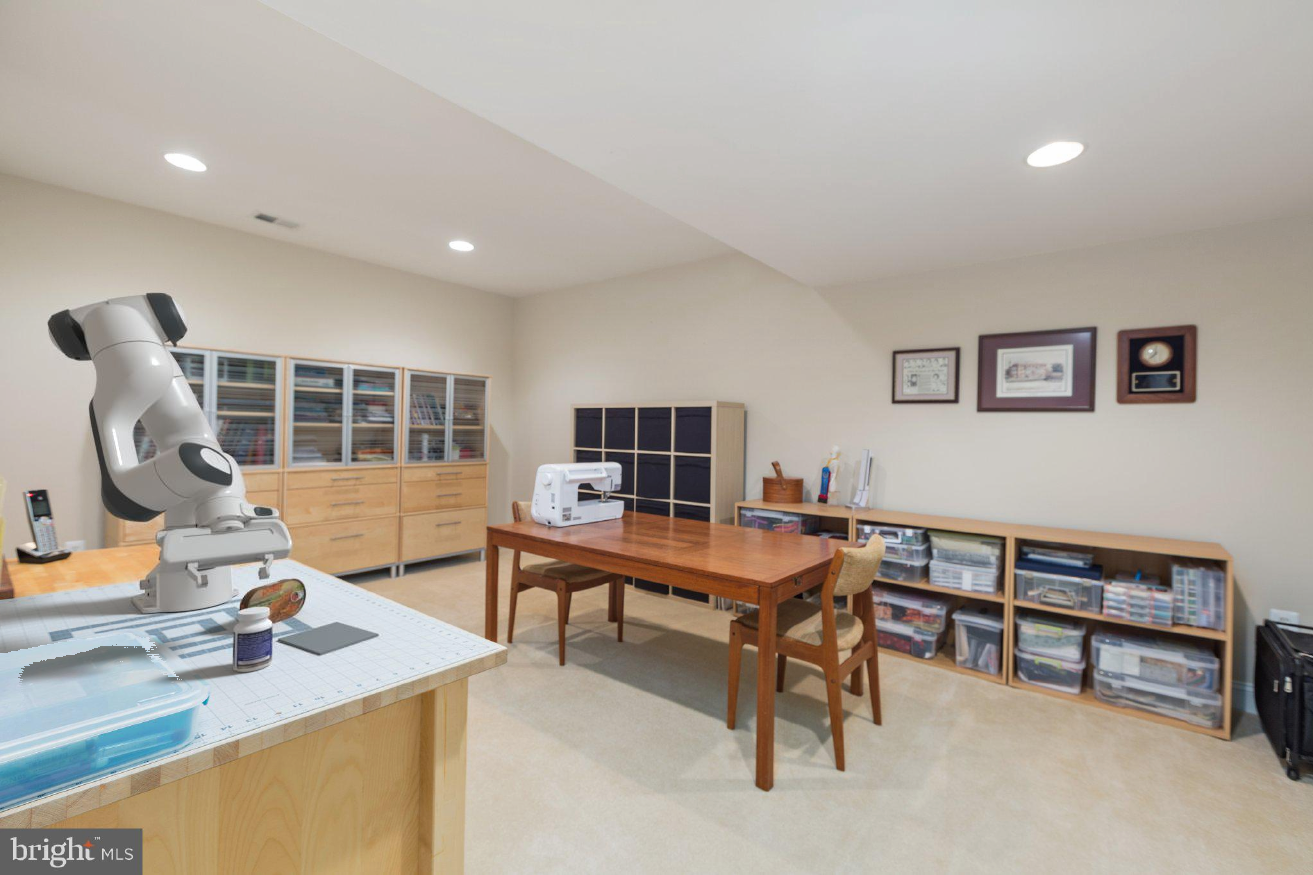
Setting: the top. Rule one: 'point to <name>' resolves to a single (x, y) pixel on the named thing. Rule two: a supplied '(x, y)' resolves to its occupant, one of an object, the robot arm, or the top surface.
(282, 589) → the tin
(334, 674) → the top surface
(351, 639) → the mat
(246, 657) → the pill bottle
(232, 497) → the robot arm
